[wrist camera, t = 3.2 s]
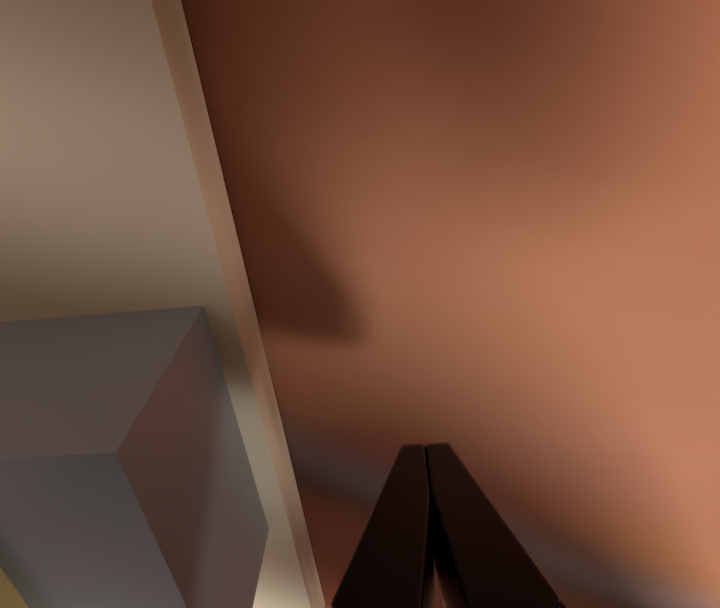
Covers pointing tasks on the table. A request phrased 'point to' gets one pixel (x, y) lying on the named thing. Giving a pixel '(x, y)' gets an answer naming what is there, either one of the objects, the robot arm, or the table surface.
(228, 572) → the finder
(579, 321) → the table surface
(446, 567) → the robot arm
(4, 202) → the board
